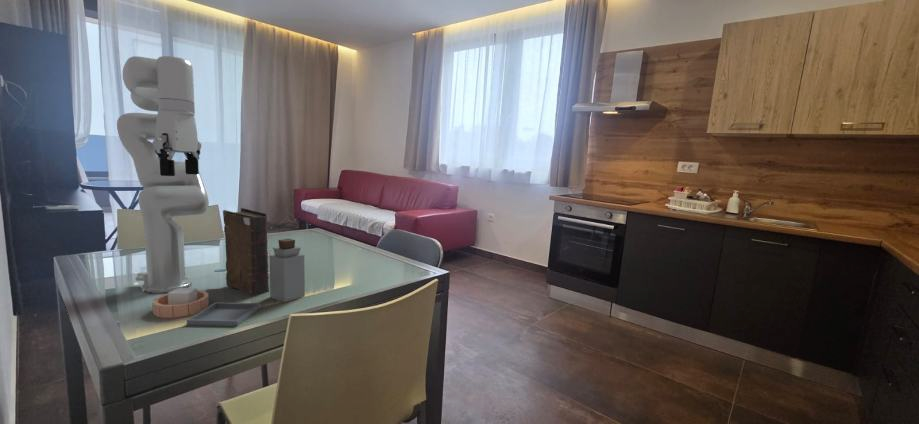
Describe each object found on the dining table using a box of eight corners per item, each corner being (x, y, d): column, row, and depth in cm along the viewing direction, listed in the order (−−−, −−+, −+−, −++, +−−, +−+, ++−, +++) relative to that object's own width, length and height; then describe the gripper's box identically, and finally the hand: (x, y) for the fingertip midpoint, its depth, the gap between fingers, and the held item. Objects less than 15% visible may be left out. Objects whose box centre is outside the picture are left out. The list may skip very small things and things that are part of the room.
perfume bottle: (284, 305, 113) (283, 243, 111) (270, 299, 117) (269, 240, 114) (304, 298, 119) (304, 240, 116) (290, 293, 122) (289, 236, 120)
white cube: (168, 311, 103) (167, 293, 103) (178, 305, 107) (177, 288, 107) (188, 311, 104) (187, 293, 103) (197, 306, 108) (196, 288, 107)
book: (271, 294, 121) (269, 213, 118) (247, 299, 116) (244, 215, 112) (248, 281, 132) (245, 207, 128) (224, 286, 126) (221, 209, 123)
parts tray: (187, 328, 96) (186, 320, 96) (215, 309, 108) (215, 302, 108) (237, 329, 97) (237, 321, 96) (260, 310, 108) (260, 303, 108)
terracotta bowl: (142, 320, 99) (141, 305, 99) (174, 302, 111) (173, 289, 111) (191, 321, 100) (190, 306, 99) (218, 303, 112) (217, 290, 111)
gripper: (183, 111, 110) (186, 173, 112) (136, 102, 93) (140, 176, 95) (211, 112, 110) (214, 174, 112) (169, 104, 93) (173, 177, 95)
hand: (180, 175), depth 104 cm, fingers open, 9 cm apart
